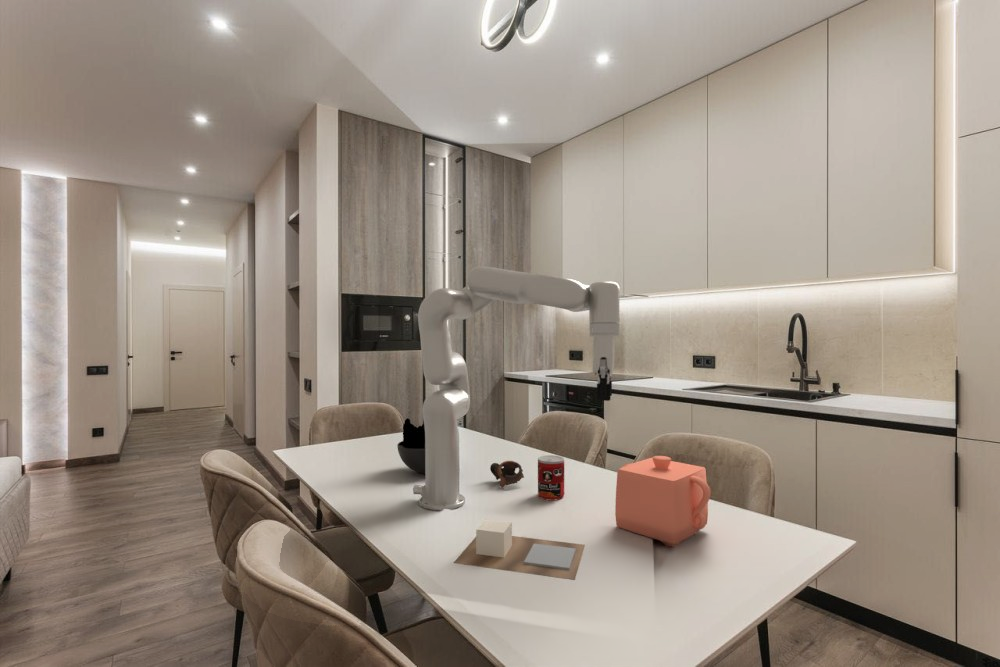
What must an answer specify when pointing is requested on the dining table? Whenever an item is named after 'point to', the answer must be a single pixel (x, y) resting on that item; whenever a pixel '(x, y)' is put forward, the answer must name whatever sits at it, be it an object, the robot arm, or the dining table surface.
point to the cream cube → (494, 538)
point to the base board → (522, 558)
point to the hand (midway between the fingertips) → (604, 398)
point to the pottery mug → (507, 472)
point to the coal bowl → (413, 446)
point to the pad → (550, 556)
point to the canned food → (551, 477)
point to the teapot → (662, 499)
